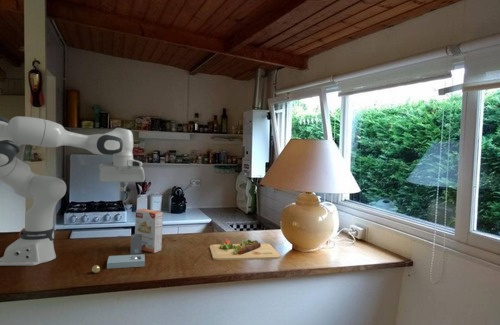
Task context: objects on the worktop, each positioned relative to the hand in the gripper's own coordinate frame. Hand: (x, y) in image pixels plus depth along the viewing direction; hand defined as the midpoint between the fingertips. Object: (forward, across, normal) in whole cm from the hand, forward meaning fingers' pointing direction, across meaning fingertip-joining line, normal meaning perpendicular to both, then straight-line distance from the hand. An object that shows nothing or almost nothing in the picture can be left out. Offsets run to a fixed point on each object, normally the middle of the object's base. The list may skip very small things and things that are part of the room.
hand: (122, 191), depth 162 cm
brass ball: (+31, -9, -17) cm, 36 cm away
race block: (+30, +7, +1) cm, 31 cm away
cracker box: (+33, +13, +13) cm, 38 cm away
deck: (+33, +3, -8) cm, 34 cm away
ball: (+31, +6, -8) cm, 33 cm away
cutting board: (+34, +62, 0) cm, 71 cm away
